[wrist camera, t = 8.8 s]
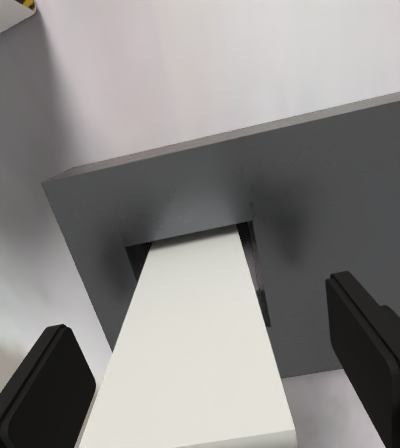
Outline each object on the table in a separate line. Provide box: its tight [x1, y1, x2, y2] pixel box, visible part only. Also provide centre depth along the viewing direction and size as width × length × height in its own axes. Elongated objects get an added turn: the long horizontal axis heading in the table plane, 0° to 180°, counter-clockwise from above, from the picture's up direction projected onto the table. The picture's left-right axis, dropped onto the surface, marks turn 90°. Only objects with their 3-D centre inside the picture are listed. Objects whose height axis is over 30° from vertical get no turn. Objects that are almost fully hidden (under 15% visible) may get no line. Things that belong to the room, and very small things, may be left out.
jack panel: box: [41, 92, 400, 378], centre depth 14 cm, size 22×12×3 cm, turn 103°
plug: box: [79, 224, 298, 448], centre depth 11 cm, size 4×5×11 cm
